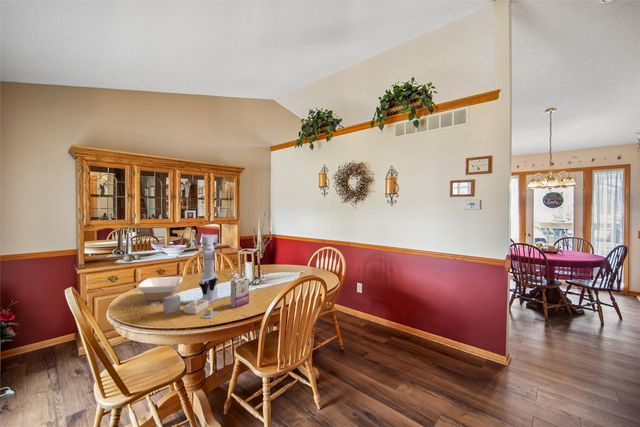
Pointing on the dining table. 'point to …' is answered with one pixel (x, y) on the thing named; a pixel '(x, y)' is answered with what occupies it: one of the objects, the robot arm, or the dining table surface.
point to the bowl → (159, 287)
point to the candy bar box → (239, 292)
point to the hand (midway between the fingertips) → (208, 292)
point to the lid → (209, 313)
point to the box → (196, 306)
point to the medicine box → (171, 304)
